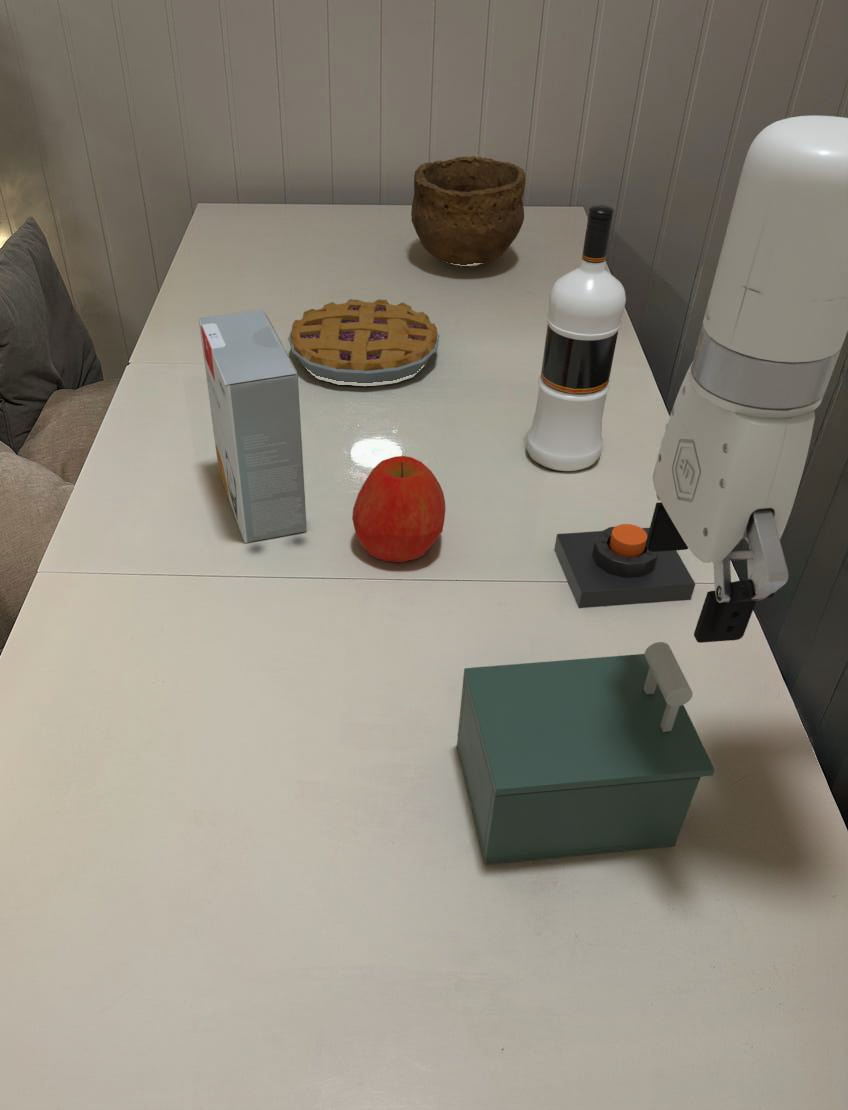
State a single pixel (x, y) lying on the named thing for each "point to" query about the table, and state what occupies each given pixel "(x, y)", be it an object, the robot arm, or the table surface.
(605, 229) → the vodka
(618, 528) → the release button
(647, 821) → the hinged box
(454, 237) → the bowl
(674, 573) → the control block
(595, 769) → the box lid
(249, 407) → the hard drive box
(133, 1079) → the table surface
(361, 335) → the pie
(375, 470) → the apple
